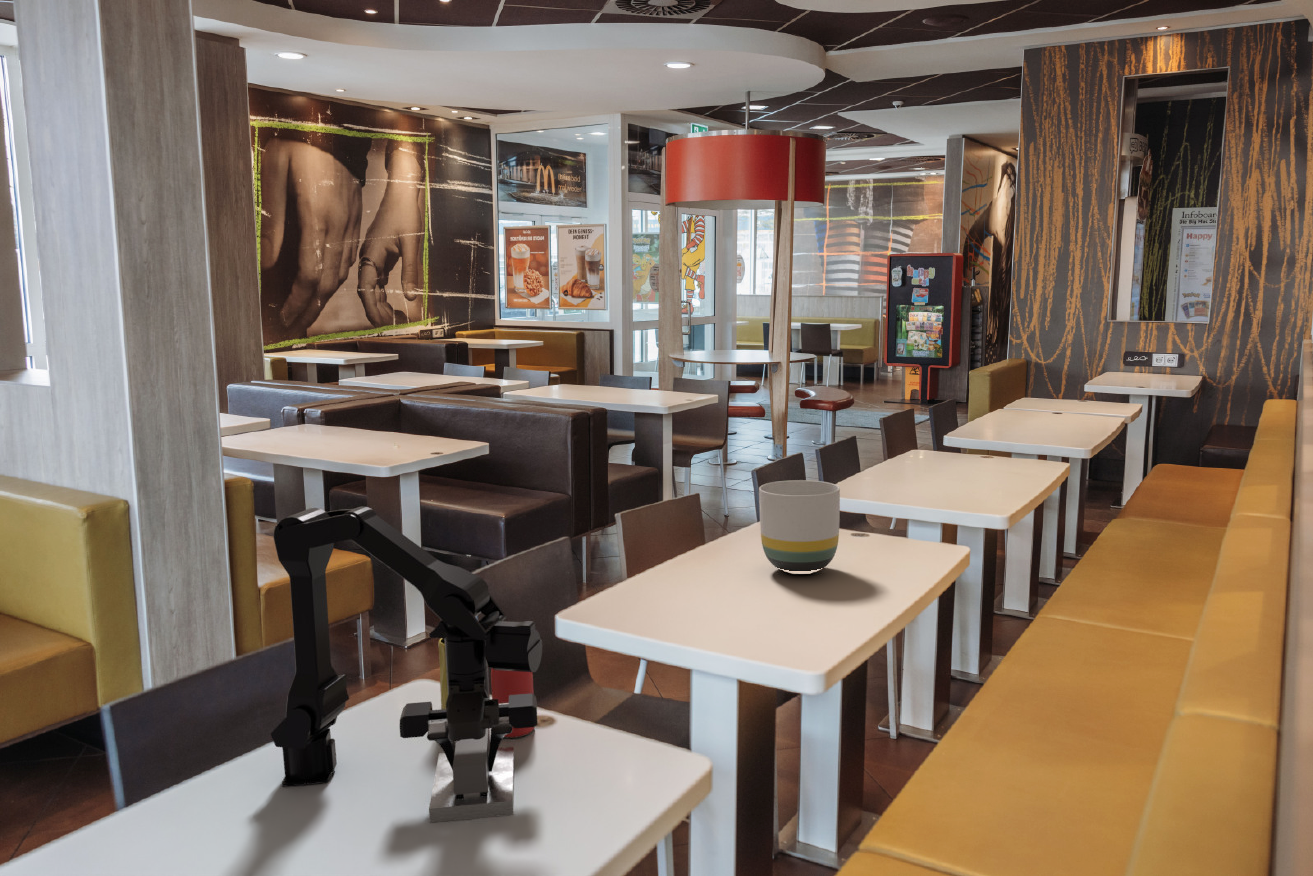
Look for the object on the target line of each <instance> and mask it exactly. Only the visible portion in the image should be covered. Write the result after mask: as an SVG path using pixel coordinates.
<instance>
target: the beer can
mask: <svg viewBox="0 0 1313 876" xmlns="http://www.w3.org/2000/svg"><path fill="white" fill-rule="evenodd" d="M533 673H534V672H519V671H502V670H494V669H493V668H492V667H491V672H490V682H491V683H490V685H491V699H498V703H499V704H503V703H509V695H518V694H531V693H532V694H533V695H534V696H535V694H534V678H533V677H534V675H533ZM534 729H535V727H530V728H518V729H515V728H513V727H512V733H510V734H506V735H504V737H503V738H506V739H516V738H517V739H518V738H521V737H525V736H527V735H529V734H530V733H531V732H533V730H534Z"/></svg>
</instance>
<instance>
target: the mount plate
mask: <svg viewBox="0 0 1313 876" xmlns="http://www.w3.org/2000/svg"><path fill="white" fill-rule="evenodd" d="M514 751H515V749H514V746H510V747H509V746H507V747H498V750H497V754H496V758H495V761H494V765H493V768H492V772H489V775H488V790H487V792H481V797H473V798H464V794H458V795H454V782H453V770H452V768H451V766H450V764H449V761H448V759H447V757H446V755H445V753H444V752H440V753H438V757H437V764H436V769H435V773H434V774H435V775H434V778H433V779H434V780H433V785H432V793H431V796H430V801H429V807H428V813H429V823H430V824H432V823H442V822H452V821H461V820H472V819H473V820H474V819H483V818H495V817H503V816H513V815H514V794H515V793H514V791H515V790H514V789H515V788H514V787H515V786H514V785H515V752H514Z"/></svg>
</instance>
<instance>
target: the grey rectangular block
mask: <svg viewBox="0 0 1313 876" xmlns="http://www.w3.org/2000/svg"><path fill="white" fill-rule="evenodd" d="M490 736H491V731H490V728H489V729H486V734H485V736H484V737H483V738H481V739H477V740H475V739H464V740H460V741H455V754H454V761H453V782H454V795H458V794H464V797H463V798H473V797H482V795H481V792H487V790H488V775H489V766H488V759H489V747H490Z"/></svg>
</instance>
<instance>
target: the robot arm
mask: <svg viewBox="0 0 1313 876" xmlns="http://www.w3.org/2000/svg"><path fill="white" fill-rule="evenodd" d="M272 535H273V541H274V546H275V551H276V556H277V558H278V559H277V560H278V561H279V563H280V564H281V566H282V567H283V569H284V570H285V571H286V573H287V574H288V578H289V585H290V586H289V587H290V601H291V605H290V606H291V616H292V617H291V619H292V629H293V630H292V631H293V646H294V660H295V661H294V662H295V664H294V665H295V673H294V676H293V679H292V681H291V685H290V687H289V689H288V693H287V694H286V695H287V698H286V707H285V718H283V720H282V721H281V722H279V724H278V725H277V726H276V727H275V728H274V729H273V730H272V731H271V733H270V736H271V740H272V742H273V743H274V746H275V747H276V748H282V757H283V760H282V761H283V769H284V770H283V771H284V777H283V780H282V781H281V786H282V787H289V786H300V785H303V786H304V785H311V784H324V783H328V782H329V781H330V778H331V776H332V774H333V772H334V771H335V769H336V767H337V764H338V763H337V750H336V739H335V738H332V736H331V734H332V733H331V727H332V726H334V725H336V723H337V719H338V716H339V715H340V714H341V713H342V712H343V711H344V710H345V707H346V702H348V701H349V700H350V696H349V694H348V690H347V685H348V684H347V682H348V677H347V676H348V675H347V674H338V673H337V671H336V670H335V668H334V667H333V666H332V665H333V664H332V662H331V658H332V657H331V646H330V643H331V642H330V626H329V610H328V609H329V608H328V595H327V576H326V571H327V567H328V565H329V562H330V560H331V556H332V554H333V552H334V551H333V550H334V546H335V543H338V542H343V541H344V542H345V541H351V542H353V543H355V544H356V545H357V546H359V547H360V548H361V549H363V550H364V551H366V552H367V553H368V554H369V555H371V556H372V557H373V558H375V559H377V560H378V561H379V562H380V563H382V564H383V565H385V566H386V567H387V568H389V569H390V570H392V571H393V572H394V573H395V574H397V575H399V576H400V578H402V579H404V580H405V581H407V582H408V583H409V584H410V585H412V586H413V587H414V588H415V589H416V590H417V591H418V592H419V593H420V594H421V596H422V598H423V600H424V602H425V604H426V606H427V608H429V609H430V610H431V611H432V612H433V614H435V615H436V616H437V617H438V618H439V619H440V620H439V622H438V624H437V625H436V627H435V628H434V629H433V630H432V631H431V632H429V633H428V636H429V638H431V639H441V638H443V639H445V654H446V671H447V688H448V698H447V701H446V709H441V708H440V709H433V704H432V701H421V702H409V703H406V704H405V705H404V707H402V711H401V715H400V719H399V737H400V738H403V739H410V738H423V737H424V736H425V735H426V734H427V735H426V739H427V740H428V741H429V742H432V741H433V742H436V743H437V744H438V745H439V746H440V748H441V749H442V751H443V753H445V755H446V757H447V759H448V761H449V764H450V766H451V768H452V770H453V761H454V754H455V747H456V741H460V740H464V739H475V740H477V739H481V738H483V737H484V736H485V734H486V729H489V730H490V747H489V759H488V766H489V772H492V768H493V765H494V761H495V758H496V754H497V750H498V748H500V744H501V742H502V740H503V738H505V737H504V735H506V734H510V733H512V727H513V728H515V729H518V728H530V727H534V728H535V727H537V726H538V705H537V697H536V695H535V694H534V695H533V694H532V693H531V694H518V695H509V703H503V704H499V703H498V699H492V698H491V697H490V695H491V694H490V682H489V681H490V680H489V679H490V675H489V668H491V669H492V668H493V669H494V670H502V671H519V672H532V673H536V672H537V671H538V669H539V667H540V664H541V661H542V655H543V640H542V639H541V635H540V632H539V630H537V629H536V622H535V621H532V620H524V621H505V620H506V618H507V614H506V613H505V611H503V610H502V608H501V607H500V605H499V604H498V603H497V602H496V600H495V599H494V598H493V596H492V595H491V593H490V589H489V588H490V587H489V585H488V583H487V582H486V581H485V580H484V578H481V577H480V576H479V575H477V574H475V573H472V572H471V571H468V570H466V569H464V568H462V567H460V566H456V565H453V564H449V563H446V562H443V561H441V560H439V559H437V558H436V557H434V555H432V554H430V553H429V552H428V551H427V550H425V549H424V548H422V547H421V546H420V545H419V544H417V543H415V542H414V541H413V540H412V539H410V538H408V537H407V536H406V535H405V534H403V533H401V532H400V531H399V530H398V529H396V528H395V527H393V526H392V525H390V524H389V523H388V522H387V521H385V520H383V519H382V518H381V517H380V516H378V515H377V513H376V512H375V510H374V509H372V508H371V507H368V506H359V507H356V508H348V509H347V508H345V509H344V508H343V509H342V508H341V509H337V510H330V511H325V510H324V509H321V508H318V507H312V508H308V509H305V510H303V511H299V512H297V513H295V514H291V515H289V516H287V517H284V518H283V519H281V520H280V521H279V522H278V523H277V524H276V525H275V527H274V529H273V533H272ZM479 614H483V615H484V616H483V617H482V618H481V619H480V620H478V619H477V616H478V615H479Z"/></svg>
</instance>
